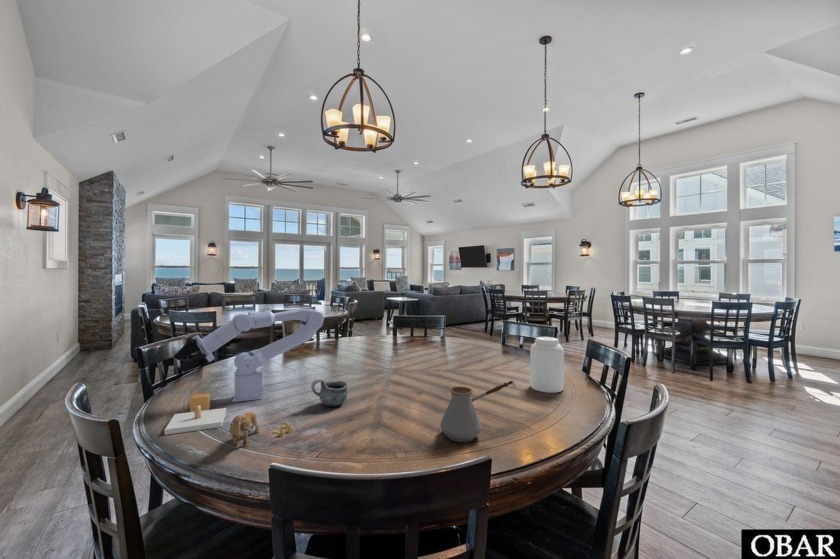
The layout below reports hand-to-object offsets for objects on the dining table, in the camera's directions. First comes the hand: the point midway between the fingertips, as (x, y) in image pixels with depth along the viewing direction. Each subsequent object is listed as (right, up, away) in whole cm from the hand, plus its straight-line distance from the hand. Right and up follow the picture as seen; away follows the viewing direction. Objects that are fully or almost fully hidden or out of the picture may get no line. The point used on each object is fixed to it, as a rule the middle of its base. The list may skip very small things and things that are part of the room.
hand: (179, 363), depth 121 cm
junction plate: (+13, -15, -11) cm, 22 cm away
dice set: (+41, -16, -16) cm, 47 cm away
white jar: (+129, -15, +24) cm, 132 cm away
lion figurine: (+33, -16, -23) cm, 43 cm away
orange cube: (+7, -15, 0) cm, 17 cm away
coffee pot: (+95, -16, -18) cm, 98 cm away
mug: (+49, -15, +4) cm, 51 cm away
